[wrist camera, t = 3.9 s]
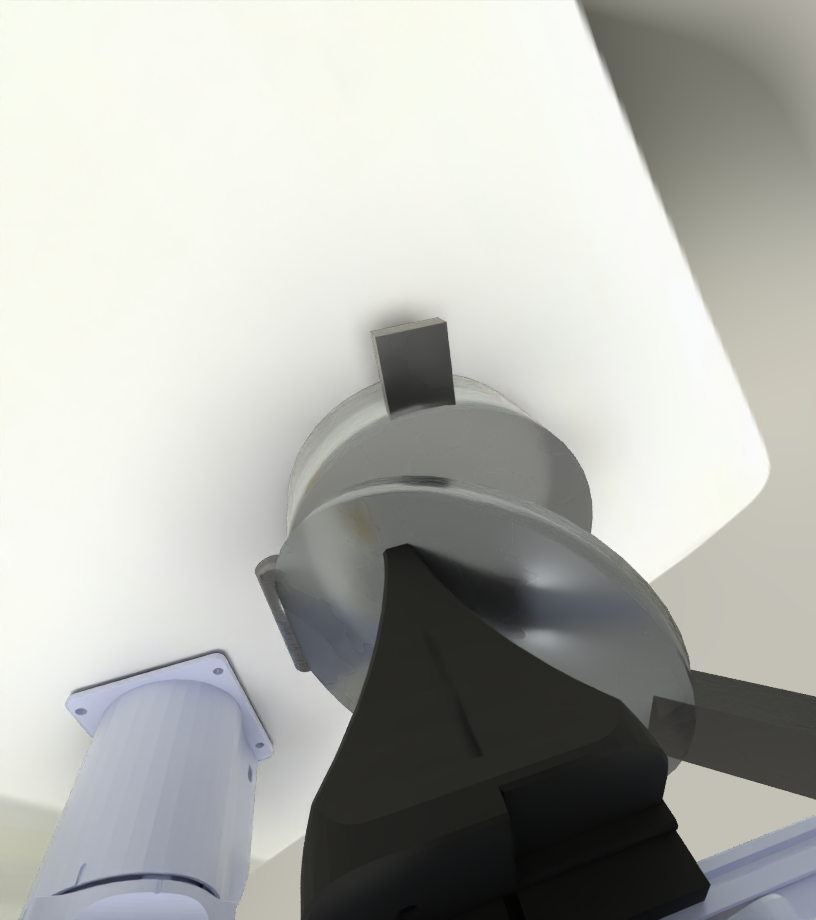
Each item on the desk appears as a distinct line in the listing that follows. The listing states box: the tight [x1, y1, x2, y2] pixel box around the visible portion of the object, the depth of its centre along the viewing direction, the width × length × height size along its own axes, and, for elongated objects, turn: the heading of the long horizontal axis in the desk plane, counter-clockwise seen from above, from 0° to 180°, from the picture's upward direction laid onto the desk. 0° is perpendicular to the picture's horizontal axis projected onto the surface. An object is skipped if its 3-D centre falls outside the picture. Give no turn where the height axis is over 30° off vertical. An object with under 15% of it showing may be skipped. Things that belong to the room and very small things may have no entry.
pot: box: [286, 317, 593, 540], centre depth 20 cm, size 19×13×5 cm
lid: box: [255, 475, 816, 799], centre depth 14 cm, size 13×17×1 cm
